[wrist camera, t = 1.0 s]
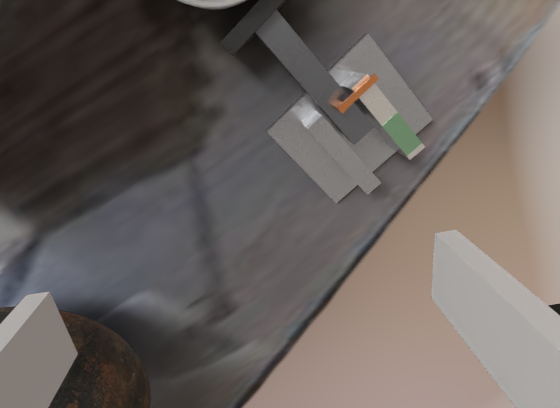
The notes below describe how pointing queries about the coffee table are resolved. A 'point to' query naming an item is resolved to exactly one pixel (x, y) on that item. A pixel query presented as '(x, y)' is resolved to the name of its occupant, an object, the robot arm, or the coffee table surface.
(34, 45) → the coffee table surface
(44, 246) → the coffee table surface
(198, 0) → the teacup
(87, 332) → the jug
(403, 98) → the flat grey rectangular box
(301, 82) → the hammer
